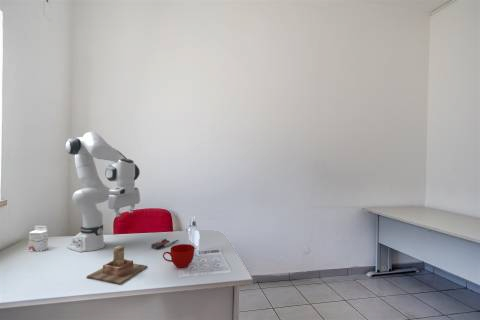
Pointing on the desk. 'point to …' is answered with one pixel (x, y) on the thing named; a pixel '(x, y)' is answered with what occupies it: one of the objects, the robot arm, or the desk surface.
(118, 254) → the wooden peg
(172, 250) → the ceramic cup
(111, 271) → the wooden peg socket board
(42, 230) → the ink cartridge box
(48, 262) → the desk surface
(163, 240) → the walkie-talkie
